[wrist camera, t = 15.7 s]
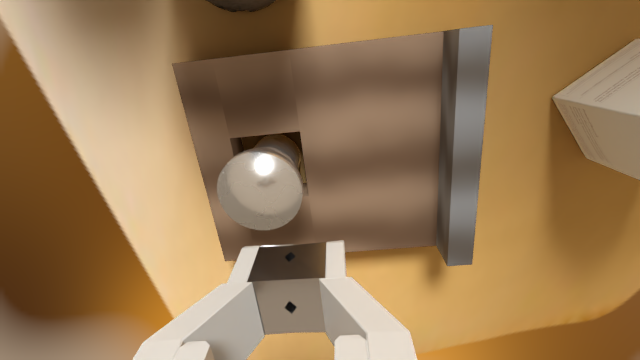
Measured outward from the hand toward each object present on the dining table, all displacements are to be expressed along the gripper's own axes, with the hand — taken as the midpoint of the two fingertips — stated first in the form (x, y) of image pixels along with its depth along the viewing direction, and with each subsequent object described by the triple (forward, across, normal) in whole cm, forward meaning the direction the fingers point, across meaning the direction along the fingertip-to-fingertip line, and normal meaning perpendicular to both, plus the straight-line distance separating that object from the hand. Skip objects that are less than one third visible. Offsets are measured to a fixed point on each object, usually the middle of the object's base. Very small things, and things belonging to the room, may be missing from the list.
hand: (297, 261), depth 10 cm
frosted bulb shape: (+20, +4, +4) cm, 21 cm away
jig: (+20, -1, +4) cm, 20 cm away
